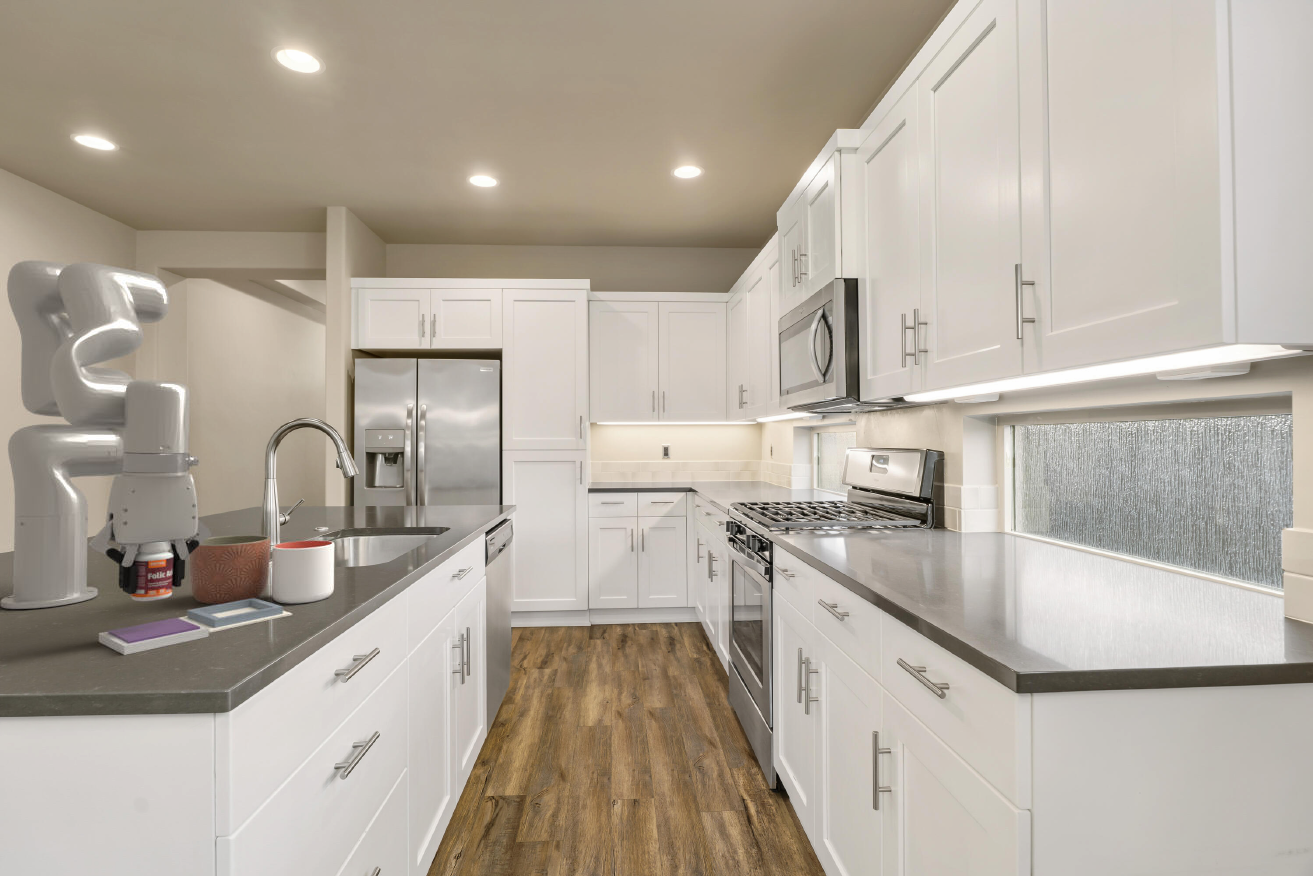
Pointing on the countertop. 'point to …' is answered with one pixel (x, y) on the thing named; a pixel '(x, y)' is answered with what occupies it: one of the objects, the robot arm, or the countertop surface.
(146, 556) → the pill bottle
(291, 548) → the cup
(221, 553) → the planter
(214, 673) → the countertop surface
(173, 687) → the countertop surface
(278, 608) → the square tray
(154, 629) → the ink pad
